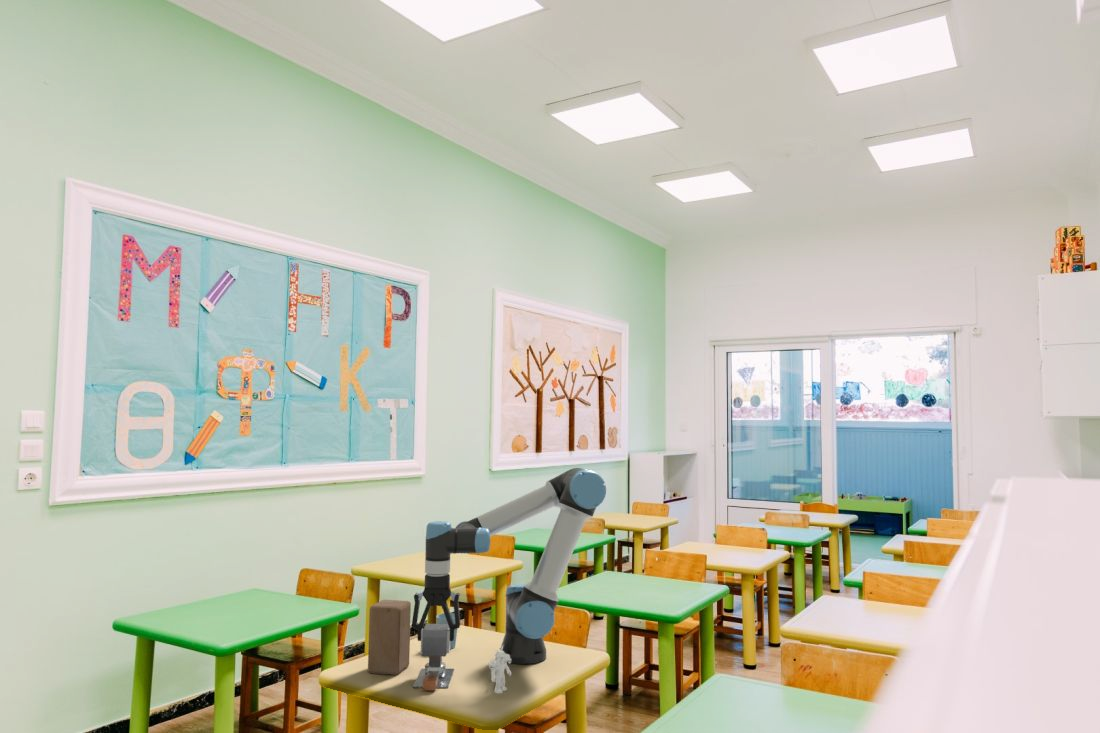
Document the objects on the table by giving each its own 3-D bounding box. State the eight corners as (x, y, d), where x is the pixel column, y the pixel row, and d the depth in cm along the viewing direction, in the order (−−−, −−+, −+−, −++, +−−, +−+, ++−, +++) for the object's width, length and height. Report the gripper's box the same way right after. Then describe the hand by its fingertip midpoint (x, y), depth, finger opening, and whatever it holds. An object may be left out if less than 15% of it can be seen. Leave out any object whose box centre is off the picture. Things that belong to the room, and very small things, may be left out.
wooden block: (397, 676, 220) (399, 607, 222) (366, 673, 222) (368, 606, 224) (410, 666, 230) (412, 600, 232) (380, 663, 232) (382, 598, 234)
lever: (454, 669, 227) (454, 645, 227) (446, 691, 208) (447, 664, 208) (421, 669, 226) (422, 645, 227) (411, 691, 208) (411, 664, 208)
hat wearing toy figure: (503, 684, 214) (504, 642, 215) (514, 687, 212) (515, 644, 213) (484, 694, 206) (485, 650, 207) (496, 696, 204) (496, 652, 205)
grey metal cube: (445, 656, 218) (446, 630, 218) (422, 656, 218) (422, 630, 218) (448, 649, 225) (449, 623, 225) (425, 648, 225) (426, 623, 225)
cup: (455, 650, 246) (455, 618, 247) (432, 649, 247) (433, 618, 248) (461, 644, 254) (461, 613, 254) (439, 643, 255) (439, 612, 256)
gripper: (471, 571, 227) (469, 648, 225) (406, 571, 227) (404, 647, 225) (469, 576, 220) (467, 655, 218) (402, 576, 219) (399, 655, 217)
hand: (435, 651), depth 221 cm, fingers closed on grey metal cube, 7 cm apart
